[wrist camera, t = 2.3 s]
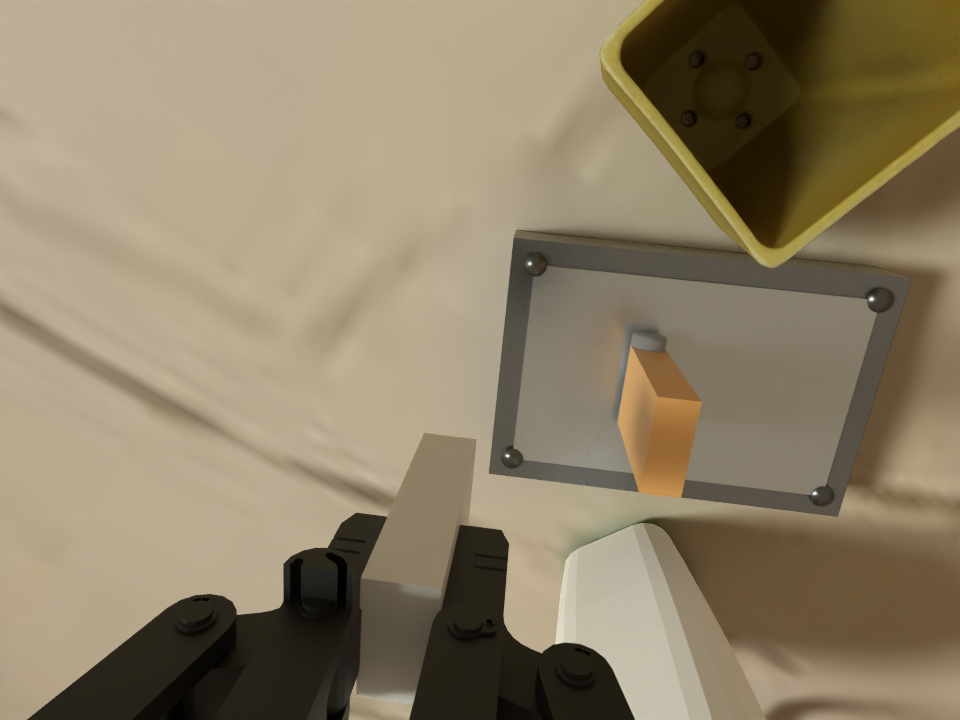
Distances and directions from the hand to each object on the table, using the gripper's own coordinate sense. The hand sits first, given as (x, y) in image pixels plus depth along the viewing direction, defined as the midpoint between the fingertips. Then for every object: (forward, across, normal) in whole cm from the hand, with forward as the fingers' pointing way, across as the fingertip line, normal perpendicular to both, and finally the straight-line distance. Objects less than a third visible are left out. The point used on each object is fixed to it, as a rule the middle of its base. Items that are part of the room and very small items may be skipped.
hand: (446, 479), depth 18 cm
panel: (+13, +9, 0) cm, 16 cm away
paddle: (+9, +7, 0) cm, 12 cm away
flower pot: (+13, +9, +12) cm, 20 cm away
